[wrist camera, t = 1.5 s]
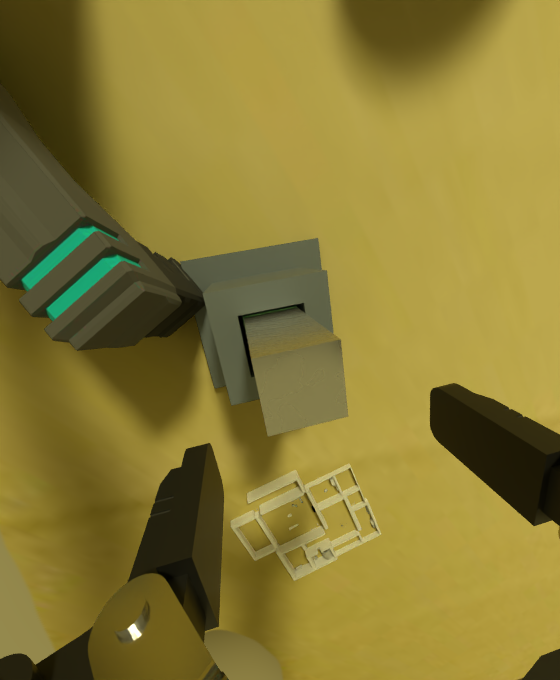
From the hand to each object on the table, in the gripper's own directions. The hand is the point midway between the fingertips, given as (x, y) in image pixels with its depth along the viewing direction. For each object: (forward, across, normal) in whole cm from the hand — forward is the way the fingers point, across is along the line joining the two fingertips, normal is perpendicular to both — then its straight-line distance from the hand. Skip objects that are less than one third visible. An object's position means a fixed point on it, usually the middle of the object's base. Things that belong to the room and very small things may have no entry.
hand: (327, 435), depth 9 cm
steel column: (+20, 0, 0) cm, 20 cm away
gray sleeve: (+22, 0, 0) cm, 22 cm away
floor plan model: (+22, +2, +32) cm, 40 cm away
